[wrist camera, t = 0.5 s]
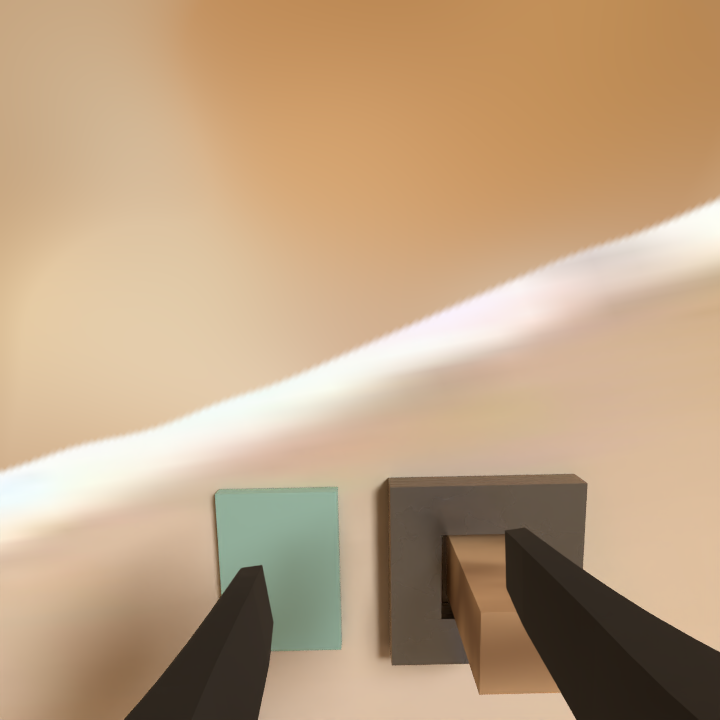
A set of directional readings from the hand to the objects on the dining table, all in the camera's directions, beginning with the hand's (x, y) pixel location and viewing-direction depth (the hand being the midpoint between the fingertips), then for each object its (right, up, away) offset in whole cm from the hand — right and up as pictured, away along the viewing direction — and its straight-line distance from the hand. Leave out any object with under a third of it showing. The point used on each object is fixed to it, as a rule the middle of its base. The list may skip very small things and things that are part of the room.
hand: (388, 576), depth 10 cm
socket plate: (+6, -6, +11) cm, 14 cm away
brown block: (+6, -6, +11) cm, 14 cm away
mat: (-6, -6, +11) cm, 14 cm away
